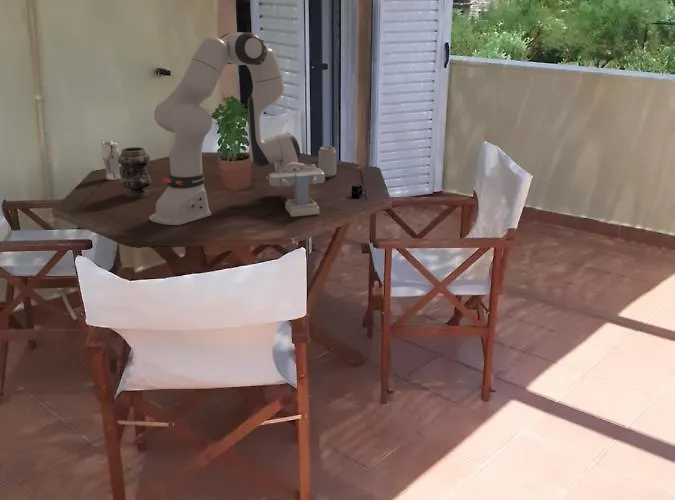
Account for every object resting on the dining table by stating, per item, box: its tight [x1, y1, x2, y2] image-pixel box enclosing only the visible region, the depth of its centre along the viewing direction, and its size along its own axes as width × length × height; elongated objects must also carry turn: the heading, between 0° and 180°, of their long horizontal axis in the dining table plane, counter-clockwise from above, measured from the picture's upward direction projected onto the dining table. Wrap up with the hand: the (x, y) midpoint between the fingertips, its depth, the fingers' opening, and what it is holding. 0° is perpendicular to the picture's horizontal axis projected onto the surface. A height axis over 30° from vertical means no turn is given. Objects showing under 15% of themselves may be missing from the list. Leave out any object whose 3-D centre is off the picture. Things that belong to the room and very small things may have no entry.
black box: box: [345, 183, 368, 200], centre depth 285 cm, size 12×7×5 cm, turn 155°
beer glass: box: [101, 140, 122, 181], centre depth 307 cm, size 7×7×15 cm
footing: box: [284, 197, 320, 217], centre depth 266 cm, size 10×10×4 cm
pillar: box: [294, 173, 310, 205], centre depth 263 cm, size 4×4×11 cm
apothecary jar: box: [118, 146, 153, 199], centre depth 283 cm, size 12×12×18 cm
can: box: [318, 145, 337, 178], centre depth 312 cm, size 8×8×12 cm
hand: (301, 183), depth 263 cm, fingers open, 8 cm apart
